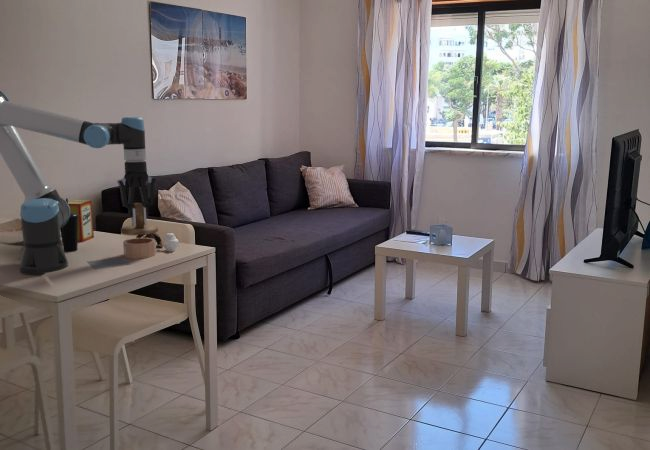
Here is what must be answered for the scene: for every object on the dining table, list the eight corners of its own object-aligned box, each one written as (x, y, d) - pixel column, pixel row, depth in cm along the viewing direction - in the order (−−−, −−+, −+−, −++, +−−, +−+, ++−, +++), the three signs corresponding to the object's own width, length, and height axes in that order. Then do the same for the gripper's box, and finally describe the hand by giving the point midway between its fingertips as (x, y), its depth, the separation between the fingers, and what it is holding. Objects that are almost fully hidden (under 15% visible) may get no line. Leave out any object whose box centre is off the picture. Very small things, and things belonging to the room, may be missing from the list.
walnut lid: (127, 236, 232) (125, 207, 230) (116, 230, 243) (114, 202, 241) (163, 232, 239) (161, 204, 237) (151, 226, 250) (149, 199, 248)
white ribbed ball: (162, 249, 255) (161, 231, 254) (178, 248, 257) (177, 230, 256) (162, 252, 249) (161, 234, 248) (179, 251, 251) (178, 233, 250)
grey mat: (95, 271, 223) (95, 268, 223) (86, 263, 233) (86, 261, 233) (131, 266, 229) (131, 264, 229) (121, 259, 239) (121, 257, 239)
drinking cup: (56, 250, 254) (52, 198, 250) (76, 247, 259) (72, 196, 255) (64, 253, 248) (60, 200, 244) (84, 250, 253) (80, 198, 249)
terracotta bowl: (129, 262, 235) (129, 245, 234) (120, 255, 244) (119, 239, 243) (160, 258, 241) (159, 241, 240) (150, 252, 250) (149, 236, 249)
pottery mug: (164, 250, 255) (152, 234, 251) (142, 261, 256) (130, 244, 252) (166, 236, 266) (155, 220, 262) (145, 247, 266) (134, 230, 263)
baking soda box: (82, 242, 267) (79, 203, 264) (67, 241, 268) (64, 202, 265) (93, 237, 276) (91, 199, 273) (79, 236, 277) (76, 199, 274)
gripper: (115, 163, 229) (119, 229, 233) (161, 160, 237) (164, 224, 242) (109, 161, 235) (113, 226, 239) (154, 158, 244) (157, 221, 248)
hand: (139, 225), depth 241 cm, fingers closed on walnut lid, 3 cm apart
